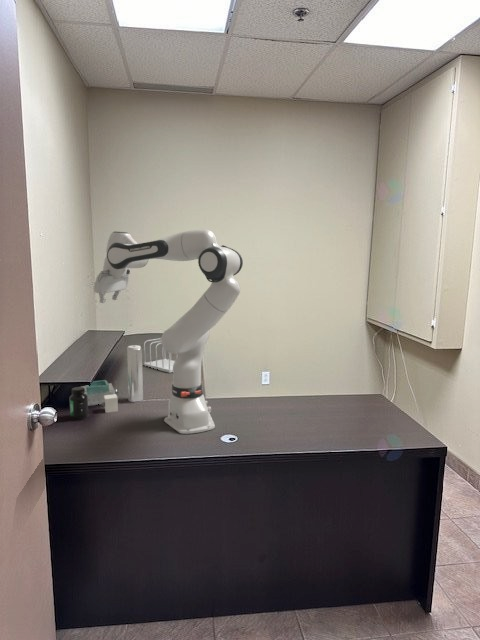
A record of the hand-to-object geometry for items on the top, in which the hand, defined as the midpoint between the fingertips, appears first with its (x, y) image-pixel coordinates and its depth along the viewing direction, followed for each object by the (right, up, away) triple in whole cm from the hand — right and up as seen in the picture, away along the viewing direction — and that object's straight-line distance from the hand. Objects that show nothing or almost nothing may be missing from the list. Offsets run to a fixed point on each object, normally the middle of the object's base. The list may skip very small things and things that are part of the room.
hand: (108, 301), depth 176 cm
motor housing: (-9, -44, +13) cm, 47 cm away
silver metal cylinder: (+8, -45, +13) cm, 47 cm away
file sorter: (+12, -37, +72) cm, 82 cm away
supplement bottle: (-9, -48, -8) cm, 49 cm away
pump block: (+1, -46, 0) cm, 46 cm away
